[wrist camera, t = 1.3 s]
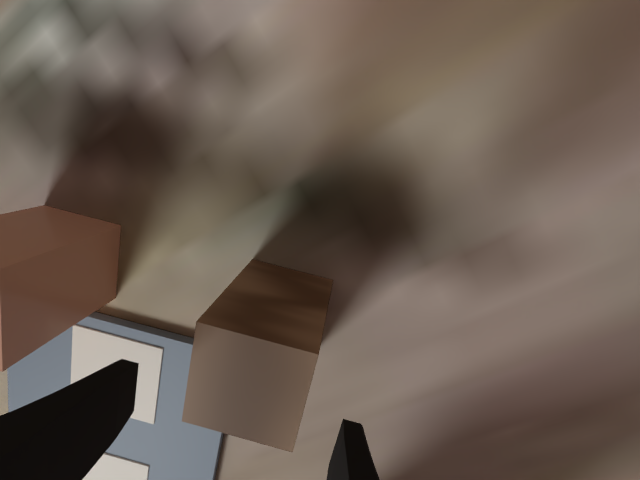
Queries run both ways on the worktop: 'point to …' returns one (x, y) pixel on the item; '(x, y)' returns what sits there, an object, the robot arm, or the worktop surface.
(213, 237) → the worktop surface
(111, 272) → the terracotta pillar
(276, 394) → the walnut pillar
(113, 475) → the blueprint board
